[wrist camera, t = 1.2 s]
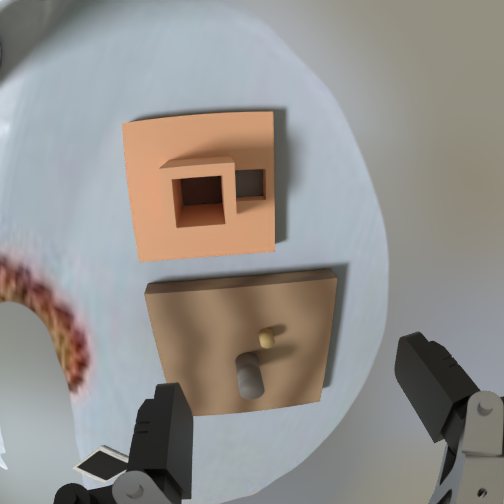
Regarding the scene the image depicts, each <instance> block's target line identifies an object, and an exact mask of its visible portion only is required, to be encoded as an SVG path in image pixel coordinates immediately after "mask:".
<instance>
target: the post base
mask: <svg viewBox="0 0 504 504" xmlns="http://www.w3.org/2000/svg"><path fill="white" fill-rule="evenodd" d="M337 279H338V278H337V276H336V275H335V274H334V272H333V271H332V270H331V269H322V270H312V271H301V272H290V273H279V274H268V275H256V276H244V277H232V278H220V279H207V280H194V281H180V282H166V283H151V284H147V288H146V291H145V294H144V295H145V300H146V304H147V309H148V313H149V317H150V322H151V326H152V330H153V334H154V338H155V342H156V346H157V350H158V353H159V357H160V361H161V364H162V368H163V372H164V375H165V378H166V382H167V383H175V382H178V383H179V384H180V386H181V388H182V390H183V393H184V395H185V397H186V399H187V402H188V404H189V406H190V408H191V411H192V415H193V416H204V415H220V414H232V413H243V412H252V411H261V410H269V409H276V408H283V407H290V406H296V405H302V404H308V403H314V402H319V401H320V398H321V393H322V387H323V381H324V376H325V370H326V363H327V357H328V350H329V344H330V337H331V329H332V322H333V314H334V306H335V298H336V289H337Z"/></svg>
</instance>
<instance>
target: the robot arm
mask: <svg viewBox="0 0 504 504" xmlns="http://www.w3.org/2000/svg"><path fill="white" fill-rule="evenodd" d="M0 61H1V44H0ZM395 376H396V379H397V381H398V383H399V384H400V386H401V388H402V389H403V391H404V393H405V394H406V396H407V397H408V399H409V401H410V403H411V404H412V406H413V408H414V409H415V411H416V413H417V414H418V416H419V418H420V419H421V421H422V423H423V424H424V426H425V428H426V430H427V431H428V433H429V435H430V436H431V438H432V440H433V442H434V443H436V442H438V441H440V440H442V439H445V441H446V442H447V445H446V447H445V451H444V456H443V460H442V464H441V469H440V473H439V476H438V480H437V484H436V487H435V490H434V493H433V495H432V497H431V499H430V501H429V503H428V504H503V499H504V397H499V396H498V395H497V394H495V393H493V392H490V391H480V389H479V388H478V387H477V386H476V385H475V383H474V382H473V381H472V380H471V378H470V377H469V376H468V375H467V374H466V372H465V371H464V370H463V369H462V367H461V366H460V365H458V363H457V361H456V360H455V359H454V358H452V357H451V354H450V353H449V352H448V351H447V350H446V348H445V347H444V346H442V345H440V344H438V343H437V342H435V341H430V342H428V340H427V339H426V338H425V337H424V336H423V334H421V333H420V332H415V333H412V334H409V335H406V336H403V337H401V338H400V339H399V343H398V349H397V355H396V361H395ZM192 449H193V415H192V411H191V408H190V406H189V404H188V402H187V399H186V397H185V395H184V393H183V390H182V388H181V386H180V384H179V383H178V382H175V383H165V384H157V386H156V390H155V395H154V399H146V400H145V401H144V403H143V404H142V405H141V407H140V408H139V410H138V414H137V418H136V424H135V428H134V434H133V438H132V443H131V448H130V454H129V459H128V465H127V469H126V472H125V473H123V474H122V475H120V476H119V477H118V478H117V479H116V480H115V482H114V484H112V485H110V486H106V487H102V488H97V489H92V490H87V489H85V488H84V487H83V486H82V485H79V484H76V483H70V484H66V485H64V486H62V487H61V488H60V489H59V490H58V491H57V493H56V495H55V499H54V503H53V504H181V500H182V499H191V488H192Z"/></svg>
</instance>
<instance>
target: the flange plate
mask: <svg viewBox="0 0 504 504" xmlns="http://www.w3.org/2000/svg"><path fill="white" fill-rule="evenodd" d="M122 130H123V143H124V154H125V165H126V174H127V183H128V191H129V199H130V207H131V214H132V220H133V227H134V233H135V240H136V246H137V251H138V257H139V262H145V261H158V260H171V259H184V258H197V257H210V256H223V255H236V254H249V253H262V252H275V188H274V127H273V112H231V113H212V114H198V115H186V116H175V117H166V118H157V119H149V120H142V121H134V122H128V123H122ZM251 169H263V196H250V197H236V187H235V170H251ZM220 175H221V190H222V203H212V204H199V205H186V206H183V199H182V188H181V179H182V178H193V177H206V176H220Z"/></svg>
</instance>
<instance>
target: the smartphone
mask: <svg viewBox="0 0 504 504" xmlns="http://www.w3.org/2000/svg"><path fill="white" fill-rule="evenodd" d="M128 459H129V457H128V456H125V455H123V454H121V453H119V452H116V451H114V450H112V449H110V448H108V447H106V446H104V445H101V446H100V447H98V448H97V449H96V450H94V451H93V452H92V453H91V454H89V455H88V456H87V457H85V458H84V459H83V460H81V461H79V462H77V463H76V464H75V465H74V466H73V469H74V470H76V471H78V472H80V473H82V474H84V475H86V476H89V477H91V478H93V479H95V480H98V481H100V482H102V483H105V482H107V481H109V480H110V479H112V478H114V477H116V476H118V475H119V474H121V473H123V472H125V471H126V469H127V465H128Z"/></svg>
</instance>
